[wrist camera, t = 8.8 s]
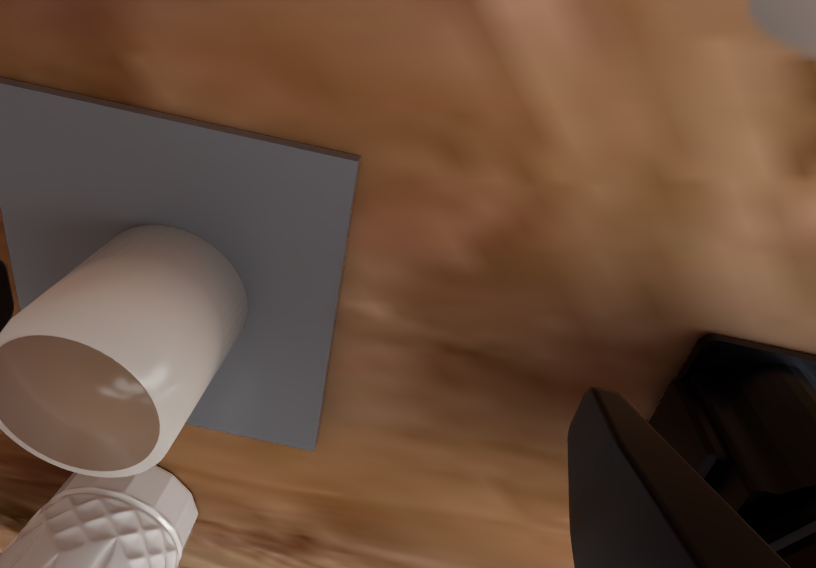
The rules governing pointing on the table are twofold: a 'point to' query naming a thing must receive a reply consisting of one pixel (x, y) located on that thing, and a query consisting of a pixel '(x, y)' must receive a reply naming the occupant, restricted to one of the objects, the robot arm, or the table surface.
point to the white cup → (108, 524)
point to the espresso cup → (119, 352)
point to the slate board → (195, 213)
